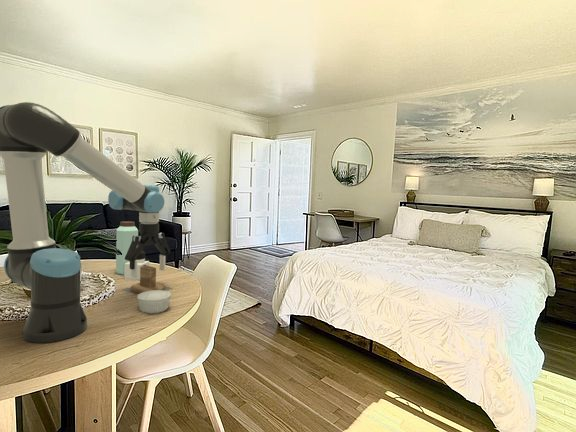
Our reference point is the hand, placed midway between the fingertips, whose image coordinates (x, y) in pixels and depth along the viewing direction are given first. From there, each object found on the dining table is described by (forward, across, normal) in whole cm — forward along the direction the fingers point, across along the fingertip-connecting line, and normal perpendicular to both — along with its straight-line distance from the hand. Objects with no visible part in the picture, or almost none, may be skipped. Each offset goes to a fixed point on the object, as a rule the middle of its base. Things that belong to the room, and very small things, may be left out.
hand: (148, 273), depth 135 cm
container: (+7, +8, +18) cm, 21 cm away
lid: (+7, 0, 0) cm, 7 cm away
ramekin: (+7, -12, -19) cm, 24 cm away
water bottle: (+7, +10, +30) cm, 33 cm away
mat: (+7, 0, 0) cm, 7 cm away
